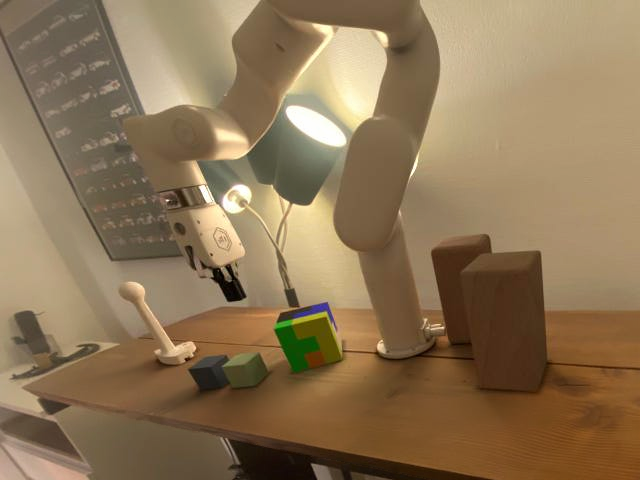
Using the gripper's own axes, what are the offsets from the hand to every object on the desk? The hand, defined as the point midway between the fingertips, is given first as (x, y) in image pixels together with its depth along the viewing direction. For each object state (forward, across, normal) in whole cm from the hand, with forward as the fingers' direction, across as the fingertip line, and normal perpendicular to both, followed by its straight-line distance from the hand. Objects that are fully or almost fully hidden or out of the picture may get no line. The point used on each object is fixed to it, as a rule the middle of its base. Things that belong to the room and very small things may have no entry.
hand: (237, 299), depth 74 cm
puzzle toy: (+16, +3, -10) cm, 19 cm away
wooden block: (+16, -12, -52) cm, 56 cm away
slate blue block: (+16, -4, +9) cm, 19 cm away
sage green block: (+16, -5, +2) cm, 16 cm away
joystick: (+16, +11, +31) cm, 37 cm away
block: (+16, +6, -45) cm, 48 cm away
